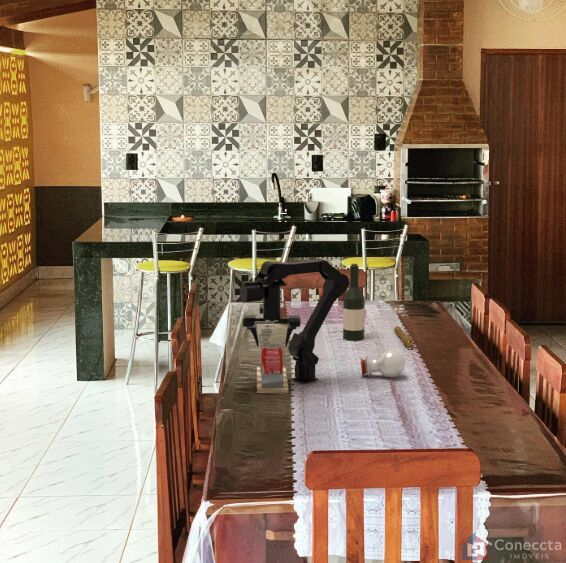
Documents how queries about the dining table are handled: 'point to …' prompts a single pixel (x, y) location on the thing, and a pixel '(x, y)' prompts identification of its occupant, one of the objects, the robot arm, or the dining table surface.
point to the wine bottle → (353, 308)
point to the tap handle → (404, 337)
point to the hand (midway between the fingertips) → (272, 346)
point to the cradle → (272, 382)
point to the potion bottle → (384, 364)
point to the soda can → (272, 359)
